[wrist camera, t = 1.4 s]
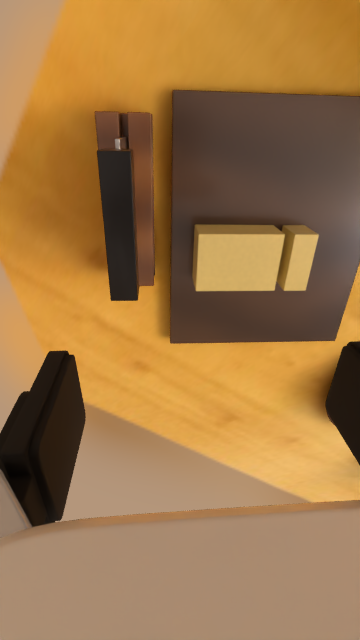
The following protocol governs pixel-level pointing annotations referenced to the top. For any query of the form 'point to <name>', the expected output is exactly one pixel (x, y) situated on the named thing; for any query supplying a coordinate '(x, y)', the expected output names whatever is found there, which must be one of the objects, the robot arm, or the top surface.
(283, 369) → the top surface
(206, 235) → the butter block
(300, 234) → the butter slice
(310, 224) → the board
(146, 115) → the knife holder
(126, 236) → the black and grey block
